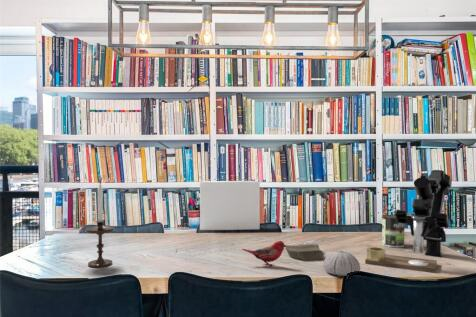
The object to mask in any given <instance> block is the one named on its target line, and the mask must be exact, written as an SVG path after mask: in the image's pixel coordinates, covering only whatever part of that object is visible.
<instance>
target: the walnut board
mask: <svg viewBox="0 0 476 317" xmlns="http://www.w3.org/2000/svg"><path fill="white" fill-rule="evenodd" d="M409 260H421V261H425V262H427V263H428V266H414V265H410V264H409V263H408V261H409ZM364 261H365V262H364V264H367V265H374V266H379V267H380V266H381V267H388V268H389V267H390V268H397V269H404V270H410V271H411V270H412V271H418V272H427V273H436V270H437V266H438V265H437V264H438V263H437V262H438V261H437V260H435V259H427V258H419V257H418V258H417V257H409V256H404V255H403V256H401V255H393V254H386V253H385V260H384V261H372V260H369V259H367V258H366V259H365V260H364Z"/></svg>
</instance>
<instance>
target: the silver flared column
mask: <svg viewBox="0 0 476 317" xmlns="http://www.w3.org/2000/svg"><path fill="white" fill-rule="evenodd" d="M411 218H413V236H412V240H413V242H412V244H413V245H412V250H413V251H412V252H413V253H416V254H418V253H419V254H423V253H425V252H424V249H425V248H424V241H425V240H424V237H423V236H422V235H423V230H424V219H426V217H425V216H419V215H413V216H411Z"/></svg>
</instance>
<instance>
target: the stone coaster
mask: <svg viewBox="0 0 476 317" xmlns="http://www.w3.org/2000/svg"><path fill="white" fill-rule="evenodd" d="M408 263H409V264H410V265H414V266H428V263H427V262H425V261H421V260H409V261H408Z"/></svg>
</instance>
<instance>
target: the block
mask: <svg viewBox="0 0 476 317" xmlns="http://www.w3.org/2000/svg"><path fill="white" fill-rule="evenodd" d="M260 183H261V182H260V181H258V180H214V181H213V180H208V181H207V180H203V181H199V230H200V231H235V230H236V231H237V230H261V228H260V226H261V225H260V224H261V223H260V222H261V218H260V217H261V215H260V214H261V212H260V211H261V210H260V209H261V207H260V206H261V205H260V204H261V200H260V198H261V196H260V192H261V191H260V189H261V187H260V186H261V185H260Z"/></svg>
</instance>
